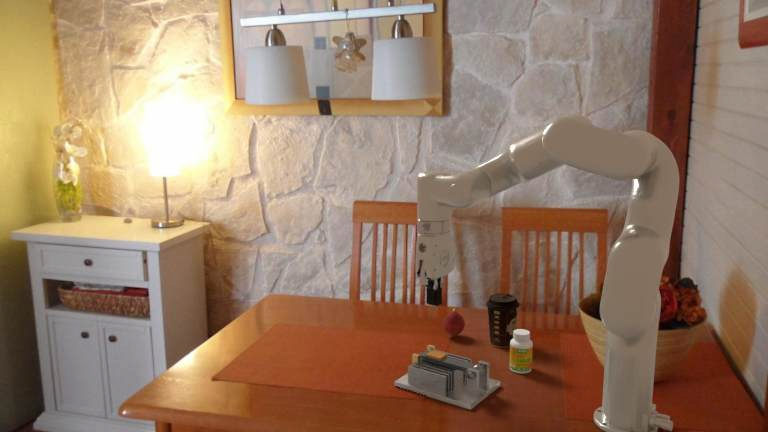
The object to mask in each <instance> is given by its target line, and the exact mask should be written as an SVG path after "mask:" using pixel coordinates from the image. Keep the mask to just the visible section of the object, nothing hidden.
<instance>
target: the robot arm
mask: <svg viewBox="0 0 768 432" xmlns="http://www.w3.org/2000/svg"><path fill="white" fill-rule="evenodd" d="M563 166H567V167H571V168H573V169H574V168H575V169H577V170H580V171H584V172H587V173H591V174H594V175H596V176H599V177H604V178H606V179H610V180H613V181H620V182H629V181H632V184H631V190H630V191H631V192H630V195H629V199H628V205H627V212H626V217H625V222H624V225H623V226H624V227H623V229H622V232H621V233H620V234H619V235H620V236H619V237H618V238H617V239H616V240H615V241H614V243H613V245H612V247H611V250H610V252H609V256H608V260H607V264H606V270H605V271H606V272H605V276H604V281H603V286H602V292H601V298H600V304H599V315H600V319H601V323H602V324H603V326H604V328H605V329H606V339H605V349H604V350H605V352H604V366H603V367H604V370H603V371H604V372H603V384H602V386H603V387H602V388H603V389H602V401H601V404H602V405H601V406H600V407H598V408H596V409H595V411H594V413H593V422H594V424H595V425H596V426H597V427H598V428H599V429H600V430H602V431H603V432H658V431H659V428H660V429H663V430H664V431H669V432H672V430H673V427H674V421H673V420H671V419H670V418H671V416H670V415H668V414H664V413H659V411H657V410H656V409H657V405H656V404H655V403H653V393H654V382H655V381H654V380H655V368H656V367H655V366H656V355H657V343H658V332H659V325H660V324H659V323H660V317H661V311H662V310H661V307H662V297H661V293H660V284H661V280H662V275H663V271H664V268H665V265H666V264H667V263H666V262H667V260H668V259H669V254H670V244H671V236H672V232H673V227H674V221H675V215H676V208H677V203H678V196H679V193H680V191H679V190H680V189H679V188H680V172H679V167H678V163H677V160H676V158H675V156H674V154H673V152H672V151H671V149H670V148H669V147H668V146H667V145H666V143H665V142H663V141H662V140H661V139H660V138H658V136H657V137H656V136H655V135H654V134H652V133H650V132H648V131H644V130H641V129H632V130H627V131H625V132H617V131H613V130H610V129H606V128H603V127H599V126H595V124H593V122H592V121H591V120H590V119H589V118H587V117H586V116H584V115H581V114H570V115H566V116H561V117H558V118H557V119H554V120H553V121H551V122H550V123H549V124H548V125H547V126H545V127H543V128H541V129H539V130H537V131H535V132H534V133H532V134H530V135H528V136H527V135H526V137H523V138H521V139H520V140H518V141H517V140H516V141H515V142H514V143H512V144H511V145H509V146H508V148H507V149H506V150H505V151H504V152H502V153H501V154H499V155H498V156H495V157H494V158H492V159H490V160H488V161H486V162H483V164H480V165H478V166H475V167H474V168H472V169H469V170H466V171H464V172H461V173H456V174H453V175H450V174H449V173H448V172H447V171H442V170H426V171H425V170H424V171H422V172H420V173H419V174H418V175H417V177H416V229H417V231H416V232H417V237H416V246H415V264H414V265H415V275H416V276H417V278H419V280H418V284H419V285H422V286H424V288H425V292H426V293H425V294H426V295H425V296H426V299H425V300H426V302H425V303H426V304H427V305H429V306H433V307H434V306H435V307H439V306H440V305H442V303H443V287H444V280H445V277H446V276H447V275H449V274H450V273H452V272H453V271H454V270H455V249H454V248H455V247H454V239H453V238H454V237H453V232H452V230H451V229H452V225H451V224H452V220H451V219H452V216H451V215H452V212H451V211H452V209H456V210H466V209H469V208H471V207H473V206H475V205H477V204H479V203H481V202H484V201H486V200H488V199H490V198H492V197H494V196H497V195H498V194H499V193H502V192H504V191H507V190H509V189H510V188H513V187H515V186H517V185H520V184H522V183H523V184H524V183H525V184H526V183H529V182H531V181H533V180H535V179H537V178H539V177H541V176H544V175H545V174H549V172H552V171H554V170H557V169H558V168H561V167H563Z"/></svg>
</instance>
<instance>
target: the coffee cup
mask: <svg viewBox="0 0 768 432" xmlns="http://www.w3.org/2000/svg"><path fill="white" fill-rule="evenodd" d="M485 305H486V307H487V320H488V321H487V322H488V338H489V345H490V346H492V347H493V348H494V347H495V348H501V349H503V348H510V341H511V340H512V339H513V338H514V337H513V331H514V330H516V328H517V320H518V311H517V309H519V308H520V305H521V304H520V302H519V301H518V299H517V298H516V296H514V295H513V294H510V293H494V294H491V295H489V297H488V299H487V301H486V303H485Z"/></svg>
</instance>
